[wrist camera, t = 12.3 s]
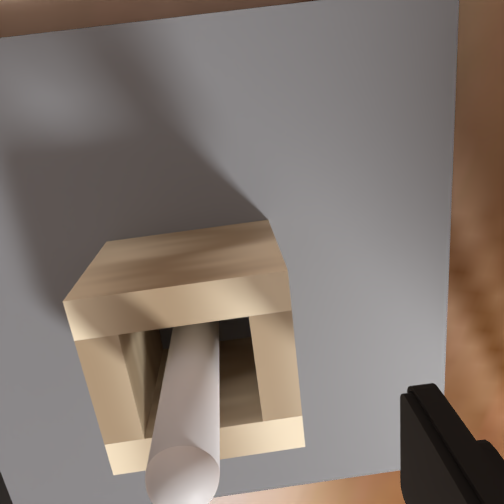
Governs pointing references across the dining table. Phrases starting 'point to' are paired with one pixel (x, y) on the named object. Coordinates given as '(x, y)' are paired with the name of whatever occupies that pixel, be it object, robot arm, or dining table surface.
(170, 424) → the grey peg base
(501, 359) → the dining table surface
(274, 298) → the cream square box
